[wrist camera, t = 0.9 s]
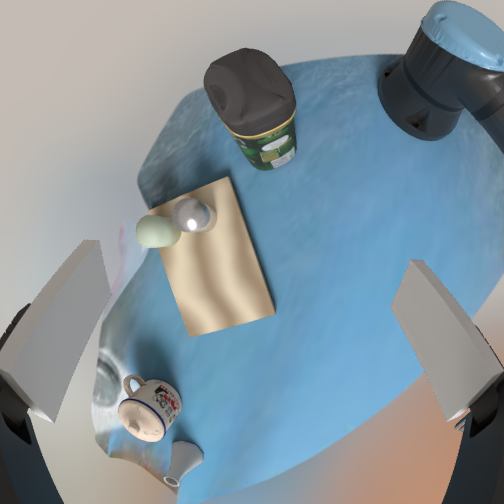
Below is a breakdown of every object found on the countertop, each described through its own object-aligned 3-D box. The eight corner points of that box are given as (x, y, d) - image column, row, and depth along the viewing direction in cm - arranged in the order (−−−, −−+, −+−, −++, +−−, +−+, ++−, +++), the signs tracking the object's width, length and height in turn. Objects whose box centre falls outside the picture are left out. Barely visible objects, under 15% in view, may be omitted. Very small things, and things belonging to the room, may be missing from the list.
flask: (167, 438, 45) (147, 466, 35) (198, 440, 44) (181, 472, 34) (178, 460, 45) (162, 489, 35) (208, 463, 44) (194, 494, 34)
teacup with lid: (192, 412, 43) (168, 449, 32) (157, 419, 45) (130, 451, 33) (159, 358, 44) (125, 388, 32) (126, 370, 45) (90, 396, 34)
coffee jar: (229, 129, 40) (187, 64, 22) (274, 107, 39) (258, 31, 20) (257, 180, 40) (226, 135, 21) (304, 157, 38) (309, 96, 20)
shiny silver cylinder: (211, 198, 39) (197, 192, 33) (221, 226, 39) (208, 224, 33) (185, 209, 40) (168, 205, 34) (194, 237, 40) (177, 237, 34)
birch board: (230, 178, 40) (227, 176, 39) (276, 311, 40) (275, 314, 39) (152, 212, 42) (147, 211, 41) (193, 334, 42) (189, 337, 41)
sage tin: (176, 213, 40) (158, 209, 34) (184, 240, 40) (167, 241, 34) (152, 223, 41) (132, 221, 35) (160, 250, 41) (140, 252, 35)
